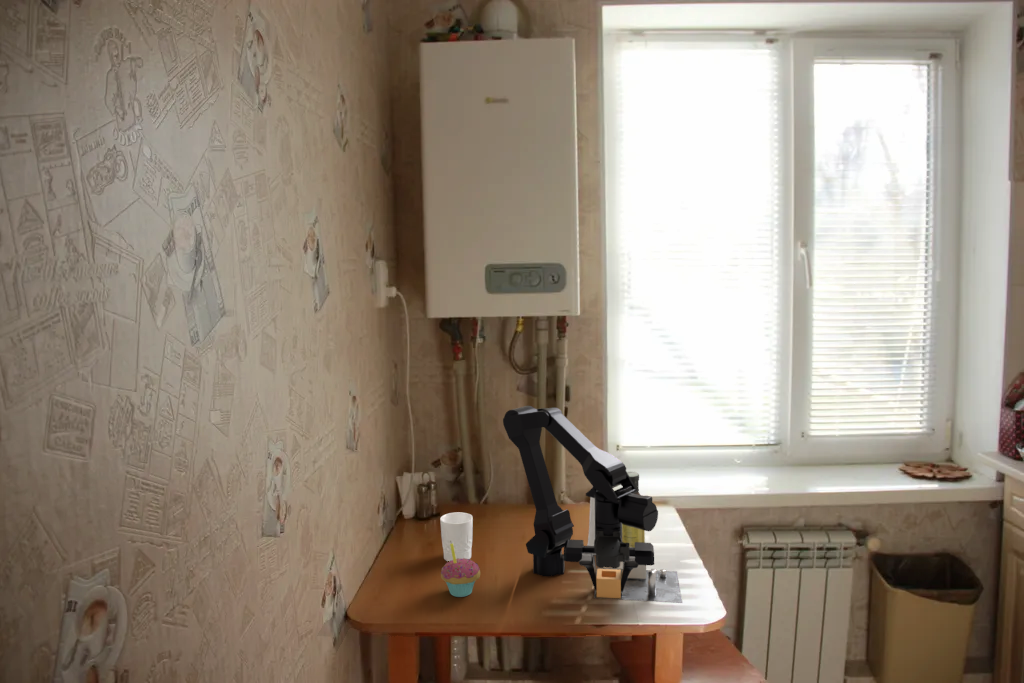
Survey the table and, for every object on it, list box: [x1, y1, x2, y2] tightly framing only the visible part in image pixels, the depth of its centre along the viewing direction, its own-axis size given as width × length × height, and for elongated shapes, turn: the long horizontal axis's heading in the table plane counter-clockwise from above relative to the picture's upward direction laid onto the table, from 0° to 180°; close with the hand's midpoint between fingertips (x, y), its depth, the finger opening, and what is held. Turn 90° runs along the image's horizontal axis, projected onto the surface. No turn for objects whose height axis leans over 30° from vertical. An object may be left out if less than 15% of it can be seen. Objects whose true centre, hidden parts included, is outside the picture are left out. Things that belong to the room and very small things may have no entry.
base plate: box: [593, 567, 683, 604], centre depth 155 cm, size 18×15×6 cm
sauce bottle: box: [622, 471, 646, 547], centre depth 174 cm, size 7×6×20 cm
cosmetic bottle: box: [586, 485, 595, 546], centre depth 174 cm, size 6×6×22 cm
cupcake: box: [440, 540, 481, 598], centre depth 155 cm, size 9×8×12 cm
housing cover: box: [628, 565, 647, 579], centre depth 159 cm, size 5×4×3 cm
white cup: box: [439, 511, 474, 562], centre depth 174 cm, size 8×8×10 cm
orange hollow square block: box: [596, 568, 621, 598], centre depth 151 cm, size 5×5×4 cm
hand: (608, 590), depth 152 cm, fingers closed on orange hollow square block, 5 cm apart
